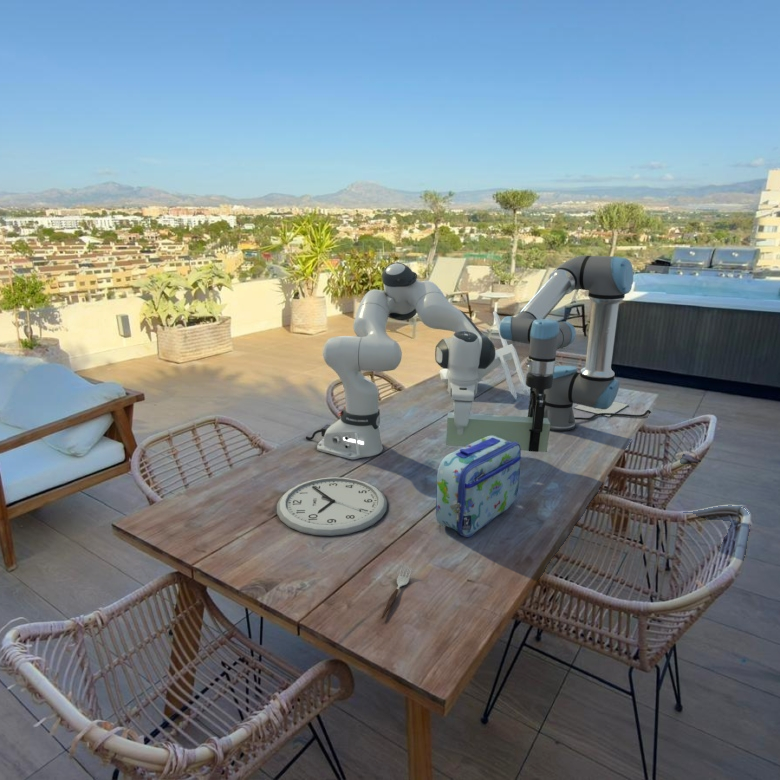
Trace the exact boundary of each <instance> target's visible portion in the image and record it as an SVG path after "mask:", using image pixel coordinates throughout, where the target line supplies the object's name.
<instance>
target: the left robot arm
mask: <svg viewBox="0 0 780 780" xmlns="http://www.w3.org/2000/svg"><path fill="white" fill-rule="evenodd" d="M381 281H382V284H383V290H380V289H370V290H369V291H366V293H365V294H364V296H363V297H362V299H361V301H360V303H359V305H358V308H357V310H356V314H355V317H354V321H353V323H352V328H353V332H354V334H355V335H356V336H351V335H340V336H339V335H338V336H333V337H329V338H328V339H327V340H326V341H325V343H324V344H323V348H322V357H323V360H324V362H325V364H326V365H327V366H328V367H330V368H331V369H332V370H333V371H334V372H335V373H336V375H337V376H338V377H339V379H340V381H341V384H342V385H343V390H344V400H345V401H344V402H345V406H343V409H341V410H340V412H339V413H338V418H339V419H338V420H336V421H335V422H333V423H332V424H325V425H324V426H322V427H321V429H320V428H319V429H317V430H315V431H314V432H313V433H312V435H311V436H305V439H306V440H308V441H311V440H313V439H315V436H316V435H317V434H319V433H321V437H323V438H322V439H321V440H320V441H319V442H318V443H317V445H316V450H317V451H319V452H322V453H326V454H329V455H332V456H336V457H341V458H344V459H348V460H358V459H361V458H368V457H369V458H370V457H374V456H377V455H379V454H381V453H382V452H383V450H384V447H383V444H382V439H381V434H380V425H381V413H380V412H381V411H380V408H379V405H380V404H379V401H380V399H379V398H380V397H379V394H380V390H379V388H378V386H377V384H376V383H375V382H373V381H372V380H370V379H368V378H367V377H365V375H364V374H363V372H377V373H378V372H379V373H381V372H389V371H395V370H396V369H397V368H398V367H399V366H400V364H401V362H402V359H403V352H402V348H401V346H400V344H399V343H398V341H396V340H395V339H393V338H392V337H390V336H389V335H388V333H387V324H388V321H389V319H393V320H396V321H401V322H402V321H403V322H405V321H409V320H411V319H413V318H414V317H415V316H416V315H417V317H418V318H419V321H420V322H421V323H423V325H424V326H426V327H427V328H429V329H433V330H443V331H449V332H453V334H452V335H451V337H447V338H442V339H441V340H439V341H438V343H437V344H436V345H435V350H434V360H435V363H436V364H437V365H438V366H439V367H440V368H442V369H449V375H448V385H447V393H448V394H449V396H450V399H451V401H452V404H453V406H452V407H453V413H454V422H455V426H457V434H458V435H462V434H463V428H464V427H467V425H468V422H469V416H470V414H471V410H472V404H473V402H474V401H475V397H476V395H477V394H478V385H479V382H478V373H477V370H478V369H486V368H487V367H488V366H489V365H490V364H491V363H492V362H493V360H494V359H495V350H496V347H495V345H494V343H493V341H492V340H491V339H490V338H489V336H486V335H485V334H484V333H482V331H481V330H480V329H479V328H478V326H477V325H476V324H475V323H474V322H473V321H472V319H471V318H470V317H469V316H468V314H466V312H465V311H463V310H461V309H459V308H458V307H456V306H455V305H453V304H452V303H451V302H450V301H449V300H448V299H447V298H446V296H445V294H444V292H443V291H442V290H441V289H440V287H439V286H438V285H437V284H436V283H435V282H433V281H431V280H423V281H419V280H418V274H417V272H415V271H413V270H412V269H411V268H410V266H408V265H407V264H405V263H402V262H393V263H390V264H389V265H387V266H386V267H384V269H383V270H382V275H381Z"/></svg>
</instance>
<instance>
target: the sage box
mask: <svg viewBox="0 0 780 780" xmlns="http://www.w3.org/2000/svg"><path fill="white" fill-rule="evenodd" d="M532 419H533V417H527V416H516V415H500V414H483V413H470V416H469V422H468V425H467V427H464V428H463V434H462V435H458V434H457V426H455V422H454V412H452V411H451V412H450V411H448V412H447V418H446V434H445V435H446V437H445V446H449V447H462V448H463V447H465V446H467V445H469V444H471V443H474V442H476V441H478V440H480V439H482V438H485V437H487V436H496V437H498V438H501V439H504V440H506V441H509V442H517V443H518V444H519V445H520V449H521V451H522V452H523V451H526V452H530V451H529V442H530V433H531V431H529V429H532ZM550 431H551V430H550V422H549V420H548V418H544V419H543V428H542V432H540V441H539V449H538V452H537V453H539V452H541V453H548V447H549V439H550Z"/></svg>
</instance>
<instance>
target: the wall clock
mask: <svg viewBox="0 0 780 780" xmlns="http://www.w3.org/2000/svg"><path fill="white" fill-rule="evenodd" d="M387 509H388V500H387V498H386V496H385V494H384V493H383V492H382V491H381V490H380V489H379V488H377V487H376V486H374V485H372V484H371V483H369V482H365V481H362V480H359V479H355V478H349V477H338V476H337V477H335V476H333V477H332V476H331V477H322V478H317V479H312V480H307V481H305V482H302V483H299V484H297V485H295V486H293V487H292V488H290V489H288V490H287V491H286V492H285V493H284V494H283V495H281V496H280V498H279V499H278V502H277V503H276V515H277V517H278V518H279V520H280V521H281V522H282V523H283V524H285V525H286V526H287V527H288V528H290V529H293V530H295V531H297V532H299V533H303V534H308V535H312V536H327V537H328V536H329V537H331V536H332V537H333V536H342V535H350V534H352V533H356V532H361V531H363V530H366V529H368V528H369V527H372V526H373V525H375V524H376V523H378V522H379V521H380V520H381V519H382V518H383V517H384V516H385V514H386V512H387Z"/></svg>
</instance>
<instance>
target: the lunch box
mask: <svg viewBox="0 0 780 780" xmlns="http://www.w3.org/2000/svg"><path fill="white" fill-rule="evenodd" d="M521 452H522V450H521V449H520V445H519V444H518V443H517V442H509V441H506V440H504V439H501V438H498V437H496V436H487V437H485V438H482V439H480V440H478V441H476V442H474V443H471V444H469V445H467V446H465V447H463V446H462V447H461V448H459V449H457V450H454V451H453V452H451V453H448V454H446V455H445V456H444V457H443V458H442V459H441V460H440V463H439V465H438V467H437V474H436V485H435V486H436V494H435V495H436V497H435V498H436V499H435V516H436V522H437V523H438V524H440V525H442V526H445V527H448V528H450V529H453V530H454V531H456V532H458V534H459V535H461V537H465V538H470V537H471V536H473V535H475V534H476V533H477V532H478V531H479V530H480V529H482V528H483V527H485V526H486V525H488V524H489V523H490V522H491V521H493V520H494V519H495V518H496V517H497V516H499V515H501V514H502V513H504V512H505V511H507V510H508V509H510V508H511V507H512V506H513V504H514V502H515V500H516V498H517V495H518V494H517V493H518V491H519V483H520V474H521V458H522V457H521V455H522V453H521Z"/></svg>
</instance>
